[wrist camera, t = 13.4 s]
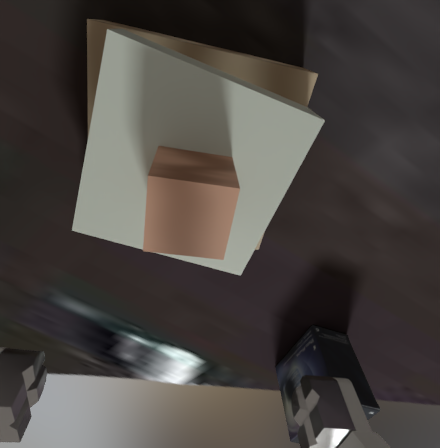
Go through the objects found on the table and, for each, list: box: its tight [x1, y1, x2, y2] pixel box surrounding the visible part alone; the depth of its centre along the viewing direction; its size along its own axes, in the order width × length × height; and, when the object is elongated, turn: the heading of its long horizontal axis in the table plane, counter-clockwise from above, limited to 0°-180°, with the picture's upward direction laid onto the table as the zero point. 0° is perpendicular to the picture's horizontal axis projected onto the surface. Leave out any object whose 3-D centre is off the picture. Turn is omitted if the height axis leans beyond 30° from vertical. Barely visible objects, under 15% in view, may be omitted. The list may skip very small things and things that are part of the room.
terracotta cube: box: [143, 146, 240, 260], centre depth 20 cm, size 5×5×5 cm
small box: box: [276, 325, 380, 443], centre depth 42 cm, size 11×6×10 cm, turn 156°
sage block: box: [72, 29, 325, 276], centre depth 24 cm, size 14×14×4 cm
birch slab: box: [87, 19, 318, 250], centre depth 28 cm, size 16×16×4 cm
